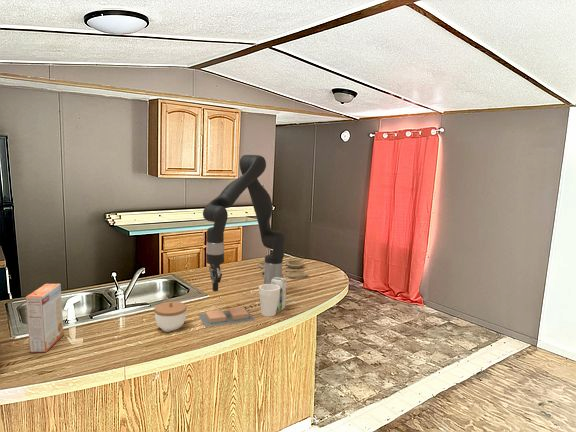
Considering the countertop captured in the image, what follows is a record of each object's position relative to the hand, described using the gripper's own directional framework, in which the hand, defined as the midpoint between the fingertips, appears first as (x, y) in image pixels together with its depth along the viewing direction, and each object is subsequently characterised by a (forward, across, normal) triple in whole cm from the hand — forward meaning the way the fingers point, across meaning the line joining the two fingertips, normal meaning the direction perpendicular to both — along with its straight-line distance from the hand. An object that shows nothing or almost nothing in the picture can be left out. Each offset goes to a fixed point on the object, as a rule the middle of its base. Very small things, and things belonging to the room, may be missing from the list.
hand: (215, 290), depth 176 cm
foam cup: (+13, -4, -24) cm, 27 cm away
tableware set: (+15, +59, -58) cm, 84 cm away
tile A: (+11, +2, -10) cm, 15 cm away
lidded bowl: (+13, -4, +20) cm, 24 cm away
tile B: (+11, +2, 0) cm, 11 cm away
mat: (+13, -2, -4) cm, 14 cm away
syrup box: (+13, +2, -30) cm, 33 cm away
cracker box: (+12, -2, +64) cm, 65 cm away
